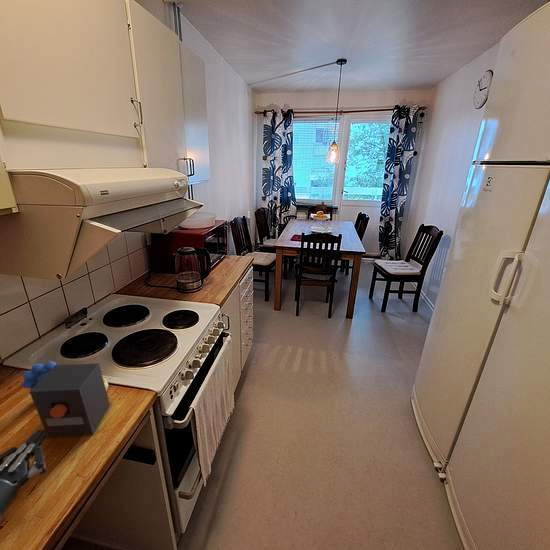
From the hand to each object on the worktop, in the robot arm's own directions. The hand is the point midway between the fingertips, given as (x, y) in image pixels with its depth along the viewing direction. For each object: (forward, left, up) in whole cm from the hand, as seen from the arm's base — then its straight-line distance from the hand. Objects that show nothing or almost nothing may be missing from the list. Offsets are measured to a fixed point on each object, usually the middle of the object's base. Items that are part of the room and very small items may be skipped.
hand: (42, 432), depth 68 cm
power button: (+2, +6, -2) cm, 6 cm away
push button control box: (+4, +12, -10) cm, 16 cm away
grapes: (-6, +27, -10) cm, 29 cm away
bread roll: (+6, +23, -10) cm, 26 cm away
